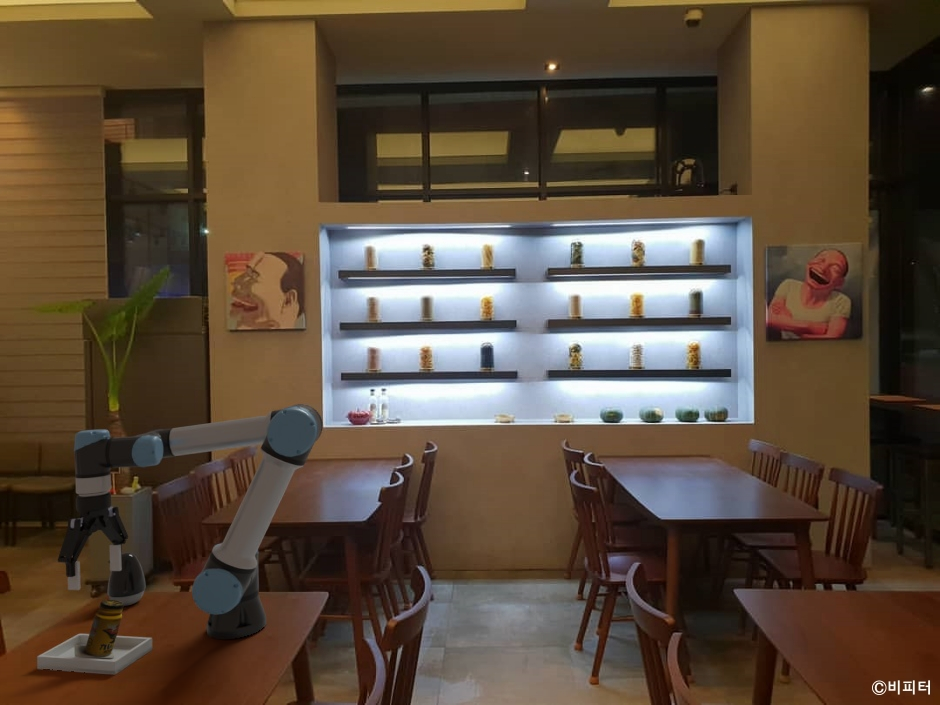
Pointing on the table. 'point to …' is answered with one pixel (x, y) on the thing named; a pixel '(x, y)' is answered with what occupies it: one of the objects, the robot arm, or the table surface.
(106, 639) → the condiment
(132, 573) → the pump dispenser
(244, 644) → the table surface
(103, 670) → the white tray
